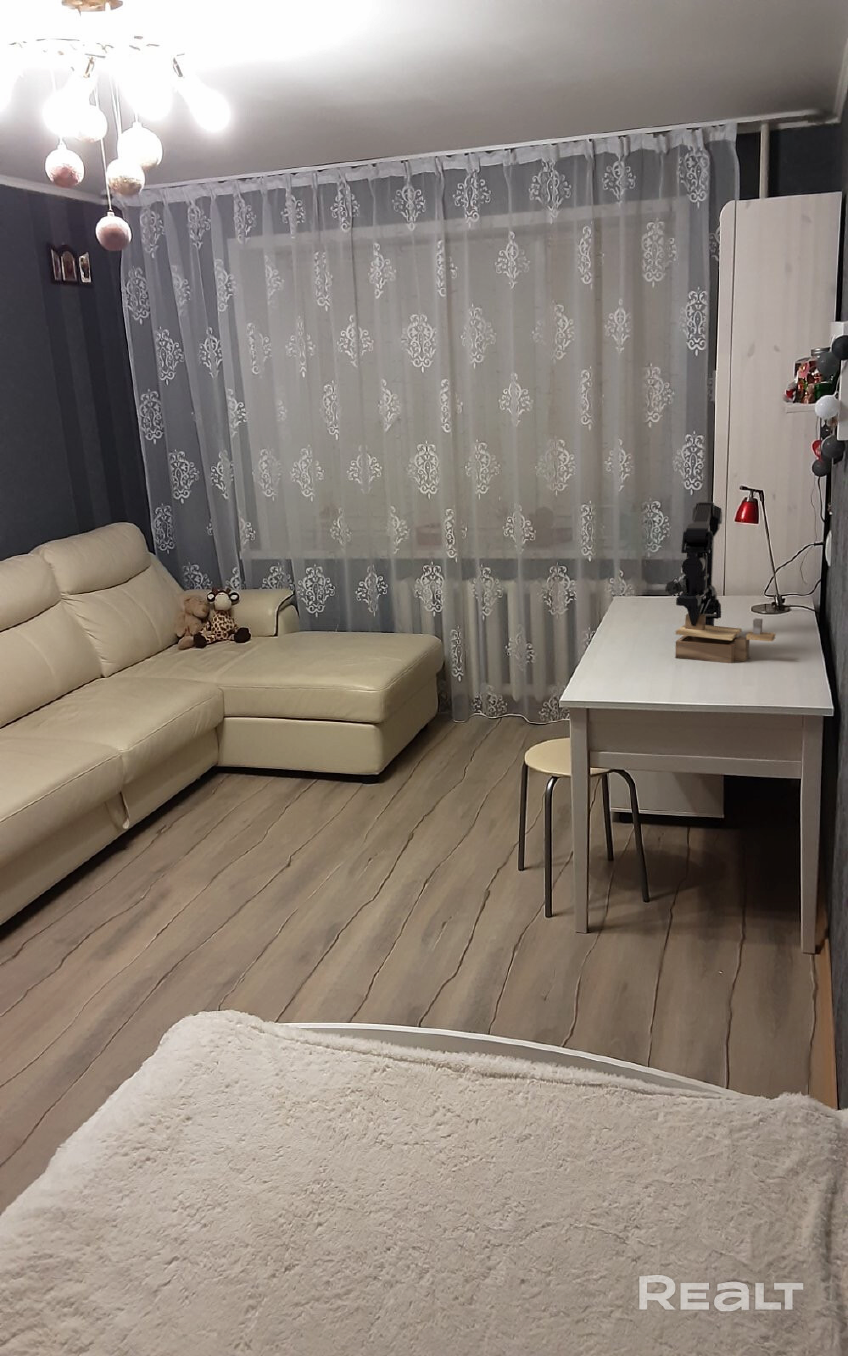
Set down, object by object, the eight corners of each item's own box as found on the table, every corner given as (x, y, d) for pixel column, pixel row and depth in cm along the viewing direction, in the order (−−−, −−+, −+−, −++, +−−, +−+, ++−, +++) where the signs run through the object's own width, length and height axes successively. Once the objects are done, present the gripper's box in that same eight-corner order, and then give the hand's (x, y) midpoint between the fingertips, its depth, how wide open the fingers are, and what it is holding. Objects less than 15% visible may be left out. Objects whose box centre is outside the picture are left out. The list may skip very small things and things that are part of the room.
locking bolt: (749, 636, 301) (750, 617, 299) (775, 638, 297) (776, 619, 296) (746, 639, 297) (747, 620, 296) (771, 641, 294) (772, 622, 292)
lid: (686, 626, 313) (687, 609, 311) (741, 632, 305) (742, 615, 304) (675, 634, 304) (676, 617, 302) (731, 640, 296) (732, 623, 294)
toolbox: (686, 649, 315) (687, 629, 313) (751, 654, 305) (752, 634, 304) (675, 658, 306) (675, 637, 304) (741, 663, 296) (742, 643, 295)
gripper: (678, 564, 313) (677, 616, 317) (658, 575, 298) (657, 629, 302) (716, 566, 308) (714, 618, 312) (697, 577, 292) (696, 632, 296)
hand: (695, 624), depth 306 cm, fingers closed on lid, 3 cm apart
